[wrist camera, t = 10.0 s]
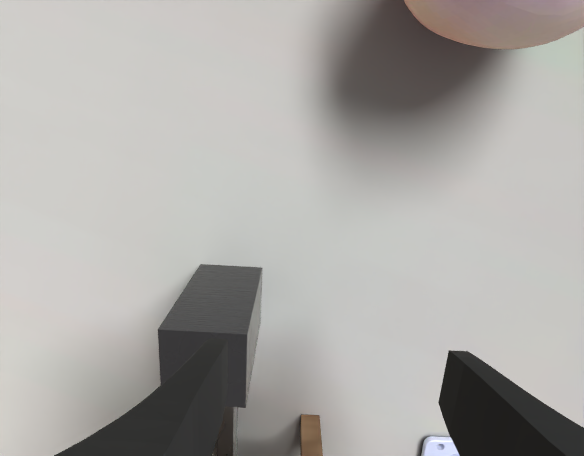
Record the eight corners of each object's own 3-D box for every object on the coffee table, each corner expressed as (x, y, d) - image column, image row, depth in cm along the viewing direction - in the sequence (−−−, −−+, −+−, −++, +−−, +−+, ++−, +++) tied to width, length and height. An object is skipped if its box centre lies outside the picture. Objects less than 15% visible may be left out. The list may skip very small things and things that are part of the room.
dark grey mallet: (262, 267, 22) (247, 334, 15) (254, 481, 26) (240, 605, 20) (200, 264, 22) (157, 329, 15) (203, 478, 26) (172, 602, 20)
